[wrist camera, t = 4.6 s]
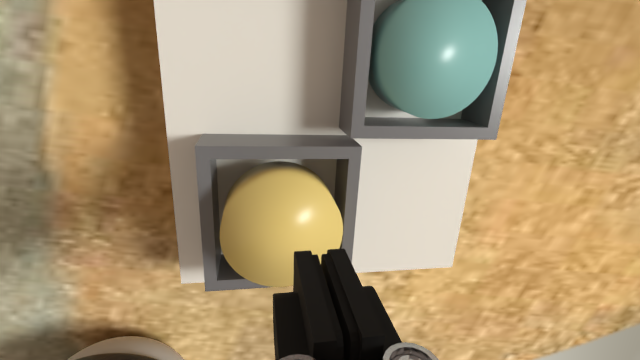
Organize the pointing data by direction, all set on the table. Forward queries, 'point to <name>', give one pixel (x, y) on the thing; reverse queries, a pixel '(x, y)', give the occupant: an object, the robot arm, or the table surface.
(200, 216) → the button panel
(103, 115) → the table surface
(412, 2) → the button teal
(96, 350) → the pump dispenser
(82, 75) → the table surface
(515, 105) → the table surface
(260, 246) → the button ochre
